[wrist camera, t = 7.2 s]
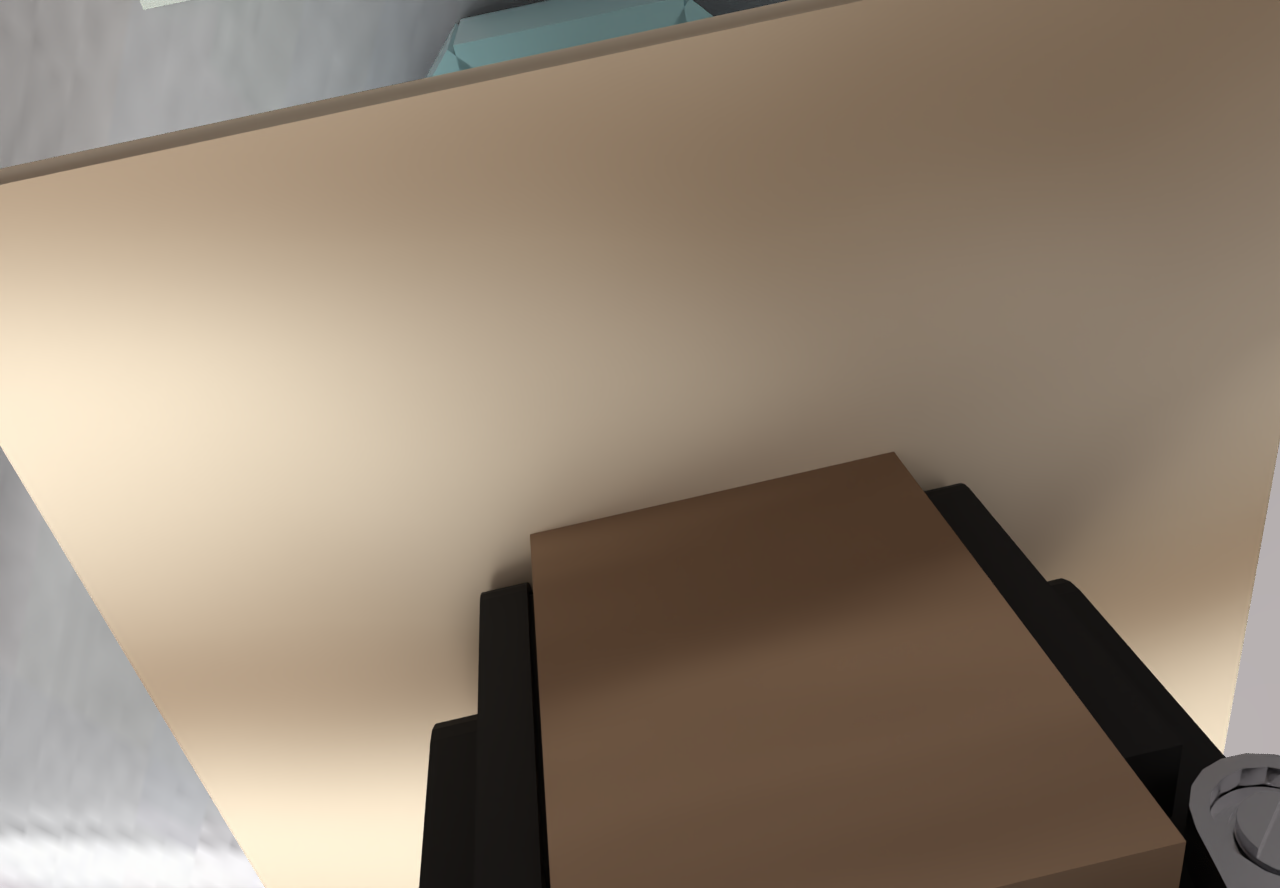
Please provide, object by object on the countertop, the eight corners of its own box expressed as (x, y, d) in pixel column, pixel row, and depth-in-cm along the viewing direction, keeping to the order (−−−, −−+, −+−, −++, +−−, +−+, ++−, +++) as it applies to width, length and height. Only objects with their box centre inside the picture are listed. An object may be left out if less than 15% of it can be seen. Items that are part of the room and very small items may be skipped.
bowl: (324, 45, 23) (278, 82, 18) (777, -50, 23) (853, -40, 18) (452, 442, 28) (444, 551, 23) (816, 360, 28) (882, 452, 24)
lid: (-75, 185, 9) (-925, 586, 3) (1294, -108, 9) (2379, -142, 4) (375, 994, 15) (313, 1560, 10) (1164, 804, 15) (1504, 1254, 10)
